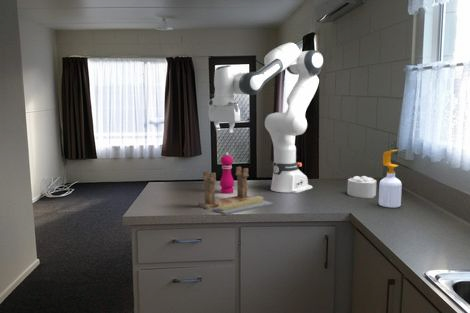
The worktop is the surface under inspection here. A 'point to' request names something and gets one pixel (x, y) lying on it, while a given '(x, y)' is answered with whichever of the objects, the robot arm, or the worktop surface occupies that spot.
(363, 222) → the worktop surface
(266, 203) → the slate mat
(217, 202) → the stand
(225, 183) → the pepper mill
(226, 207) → the brass rail
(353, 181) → the lumpy-topped squat cylinder
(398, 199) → the soap bottle
